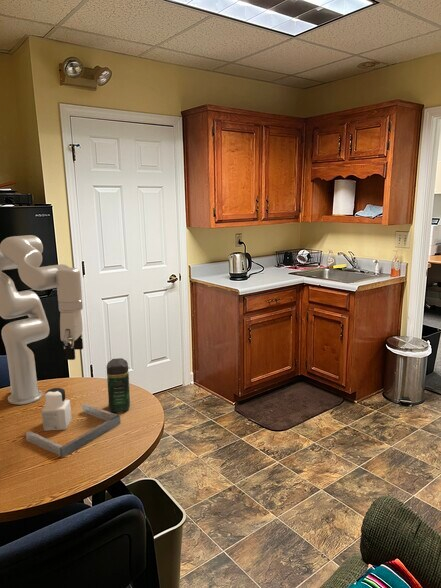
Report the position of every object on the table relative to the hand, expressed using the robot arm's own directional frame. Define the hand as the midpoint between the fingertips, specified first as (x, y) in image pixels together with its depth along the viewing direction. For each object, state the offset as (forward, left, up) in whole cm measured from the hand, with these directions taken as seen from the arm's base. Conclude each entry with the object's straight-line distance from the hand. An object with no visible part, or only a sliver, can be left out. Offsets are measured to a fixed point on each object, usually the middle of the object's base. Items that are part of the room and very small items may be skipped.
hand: (74, 354), depth 151 cm
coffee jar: (+3, +16, -26) cm, 31 cm away
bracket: (+4, -5, -26) cm, 27 cm away
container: (-6, -5, -26) cm, 27 cm away
